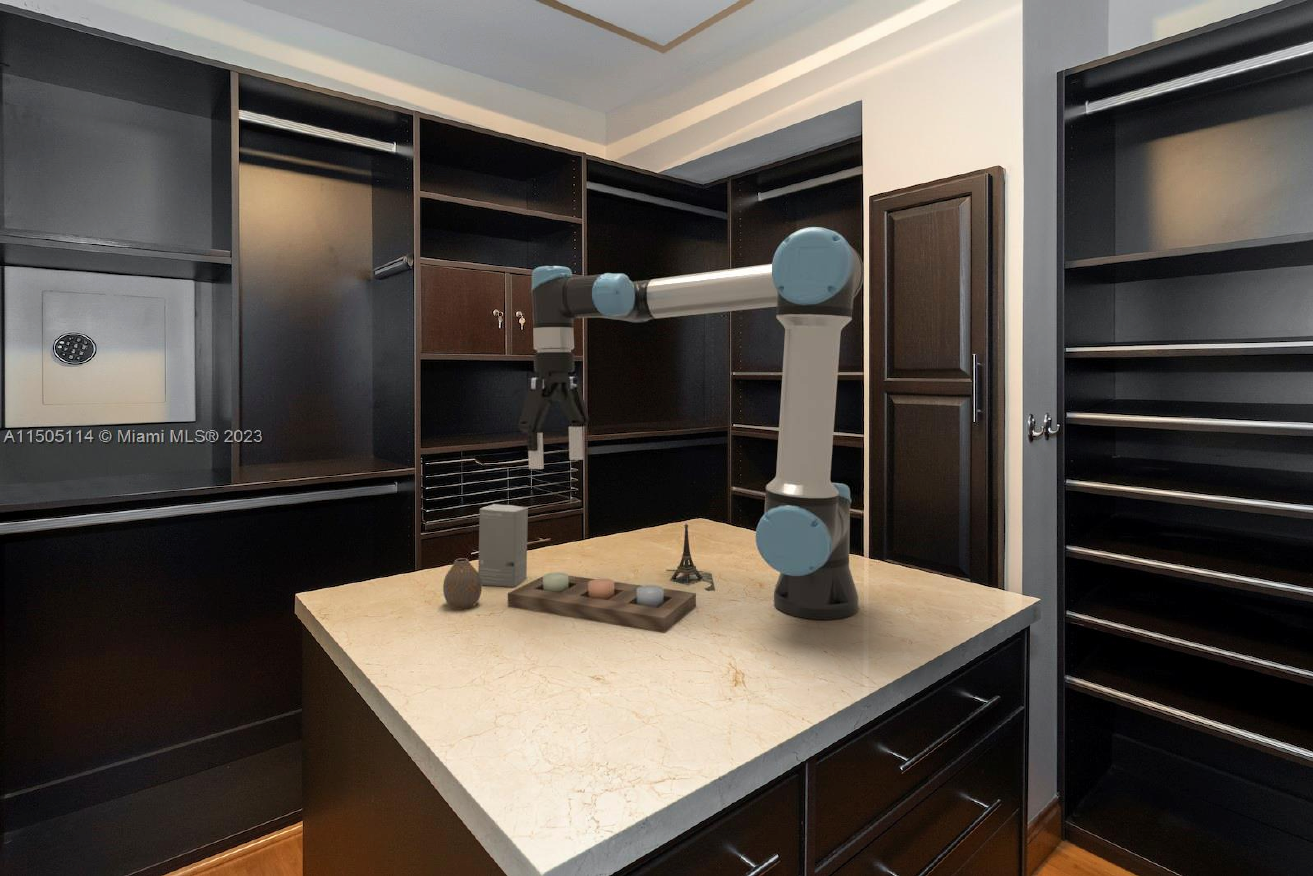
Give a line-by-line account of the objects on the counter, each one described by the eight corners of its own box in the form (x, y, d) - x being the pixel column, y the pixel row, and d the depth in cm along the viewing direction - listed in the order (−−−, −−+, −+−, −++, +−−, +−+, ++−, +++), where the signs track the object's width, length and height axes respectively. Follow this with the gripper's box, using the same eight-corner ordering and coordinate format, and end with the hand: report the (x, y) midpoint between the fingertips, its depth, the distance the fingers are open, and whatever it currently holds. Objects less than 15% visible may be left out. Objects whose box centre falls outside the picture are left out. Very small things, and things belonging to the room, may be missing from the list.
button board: (696, 606, 128) (696, 593, 128) (664, 632, 115) (664, 617, 115) (550, 584, 142) (550, 572, 141) (508, 606, 129) (507, 593, 129)
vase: (471, 613, 126) (470, 565, 125) (436, 610, 127) (434, 564, 126) (488, 600, 132) (486, 555, 132) (455, 598, 134) (453, 554, 133)
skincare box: (477, 585, 142) (474, 509, 140) (493, 575, 149) (491, 502, 147) (516, 588, 140) (513, 510, 138) (530, 578, 147) (528, 504, 145)
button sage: (573, 589, 134) (573, 574, 133) (559, 596, 129) (559, 581, 129) (552, 586, 136) (552, 571, 136) (538, 593, 132) (537, 578, 131)
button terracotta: (619, 596, 130) (618, 580, 129) (606, 604, 125) (606, 587, 125) (596, 592, 132) (596, 577, 131) (583, 600, 127) (583, 584, 127)
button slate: (667, 603, 125) (667, 587, 125) (656, 611, 121) (656, 595, 121) (644, 599, 127) (643, 583, 127) (632, 608, 123) (631, 591, 123)
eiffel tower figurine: (716, 594, 136) (716, 527, 135) (665, 594, 136) (664, 528, 135) (710, 571, 151) (710, 511, 150) (664, 572, 151) (663, 512, 150)
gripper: (572, 353, 143) (575, 455, 145) (495, 350, 121) (499, 471, 123) (604, 352, 140) (606, 456, 142) (530, 349, 117) (534, 473, 120)
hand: (557, 463), depth 132 cm, fingers open, 13 cm apart
